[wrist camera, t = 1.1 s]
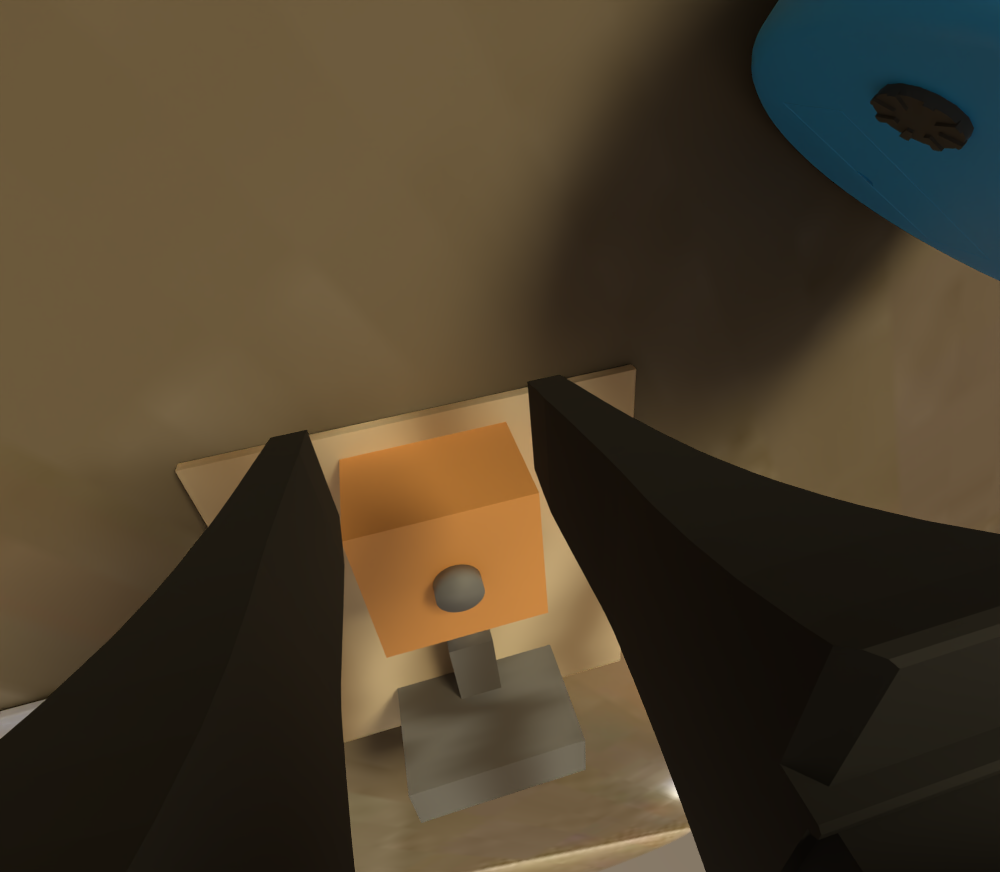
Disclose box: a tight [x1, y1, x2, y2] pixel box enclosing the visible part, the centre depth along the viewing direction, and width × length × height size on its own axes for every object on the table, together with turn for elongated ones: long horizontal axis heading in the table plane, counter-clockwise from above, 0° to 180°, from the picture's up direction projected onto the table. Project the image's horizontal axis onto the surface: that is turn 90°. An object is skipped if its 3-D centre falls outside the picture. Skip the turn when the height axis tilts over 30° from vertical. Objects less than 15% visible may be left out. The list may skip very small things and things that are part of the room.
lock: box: [339, 422, 548, 658], centre depth 20 cm, size 6×6×5 cm
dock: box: [175, 364, 636, 823], centre depth 23 cm, size 16×19×5 cm
